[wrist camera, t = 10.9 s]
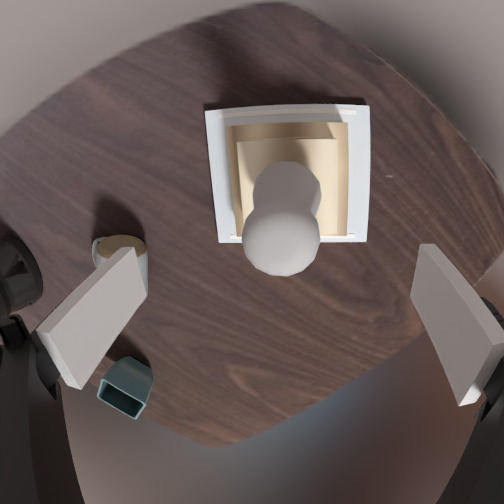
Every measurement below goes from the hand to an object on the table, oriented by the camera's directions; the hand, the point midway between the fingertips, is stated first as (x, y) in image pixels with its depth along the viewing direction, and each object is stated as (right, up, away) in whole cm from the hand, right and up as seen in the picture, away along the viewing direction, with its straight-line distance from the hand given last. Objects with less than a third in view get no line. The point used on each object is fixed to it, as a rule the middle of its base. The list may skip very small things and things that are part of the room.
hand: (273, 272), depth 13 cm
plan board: (+3, +10, +20) cm, 23 cm away
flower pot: (-23, -22, +40) cm, 51 cm away
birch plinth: (+3, +10, +20) cm, 23 cm away
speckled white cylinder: (-20, 0, +29) cm, 35 cm away
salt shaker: (+2, +7, +14) cm, 16 cm away
